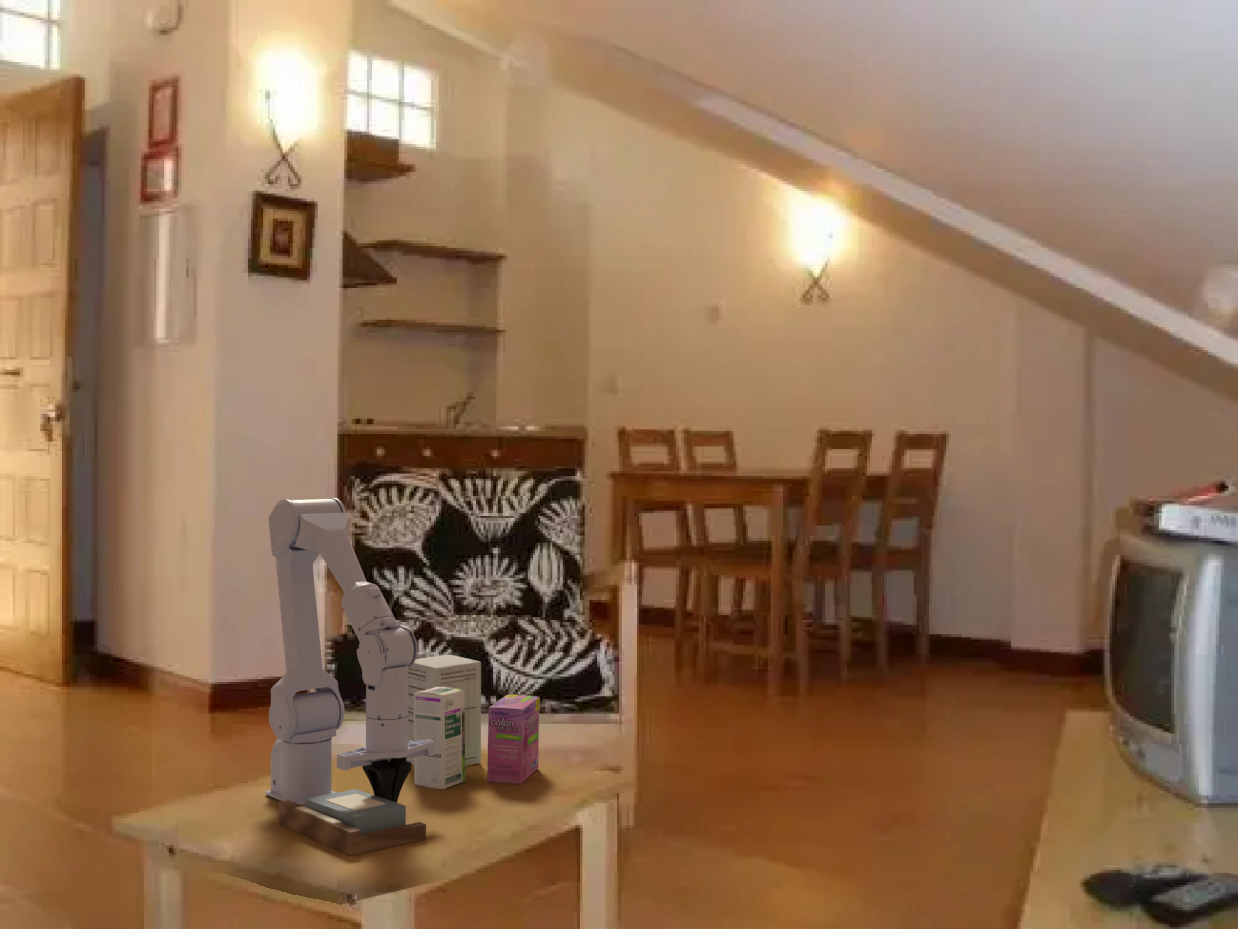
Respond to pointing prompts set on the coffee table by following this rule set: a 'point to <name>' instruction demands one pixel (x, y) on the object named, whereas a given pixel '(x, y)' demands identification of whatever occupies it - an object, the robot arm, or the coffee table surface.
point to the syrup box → (440, 736)
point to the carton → (360, 810)
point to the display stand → (345, 830)
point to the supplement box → (457, 676)
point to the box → (513, 739)
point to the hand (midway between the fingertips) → (386, 814)
